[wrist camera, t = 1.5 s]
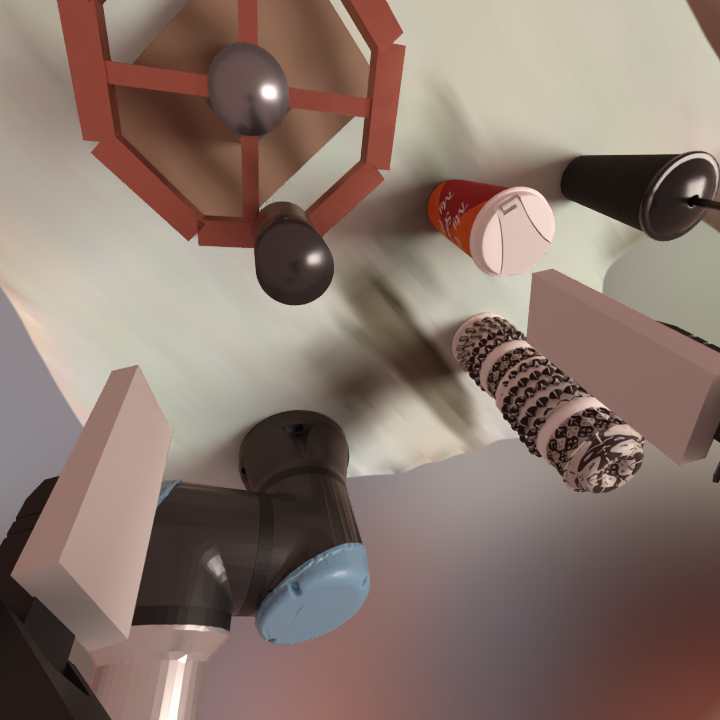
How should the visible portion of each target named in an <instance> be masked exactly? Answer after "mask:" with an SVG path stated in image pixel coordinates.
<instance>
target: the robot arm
mask: <svg viewBox="0 0 720 720" xmlns="http://www.w3.org/2000/svg"><path fill="white" fill-rule="evenodd" d="M526 342H527V343H528V344H529V345H530V346H532V347H533V348H534V349H535V350H536V351H538V352H539V353H540V354H541V355H543V356H544V357H545V358H546V359H548V360H549V361H550V362H551V363H553V364H554V365H555V366H556V367H557V368H559V369H560V370H561V371H562V372H564V373H565V374H566V375H567V376H569V377H570V378H571V379H572V380H574V381H575V382H576V383H577V384H578V385H580V386H581V387H582V388H583V389H585V390H586V391H587V392H588V393H590V394H591V395H592V396H593V397H595V398H596V399H597V400H598V401H599V402H601V403H602V404H603V405H604V406H606V407H607V408H608V409H609V410H611V411H612V412H613V413H614V414H616V415H617V416H618V417H619V418H621V419H622V420H623V421H624V422H625V423H627V424H628V425H629V426H630V427H632V428H633V429H634V430H635V431H637V432H638V433H639V434H640V435H642V436H643V437H644V438H645V439H647V440H648V441H649V442H650V443H651V444H653V445H654V446H655V447H656V448H658V449H659V450H660V451H661V452H663V453H664V454H665V455H666V456H667V457H669V458H670V459H671V460H672V461H674V462H675V463H676V464H678V465H679V466H681V465H684V464H687V463H690V462H693V461H696V460H699V459H703V458H706V456H707V453H708V451H709V448H710V446H711V444H712V442H713V440H714V439H715V440H717V441H718V442H720V348H719V347H717V346H715V345H713V344H708V342H707V341H705V340H703V339H701V338H699V337H694V336H693V334H691V333H689V332H686V331H685V330H683V329H680V328H678V327H677V326H674V325H670V324H667V323H663V322H659V321H655V320H653V319H651V318H649V317H647V316H645V315H643V314H641V313H639V312H637V311H635V310H633V309H631V308H629V307H627V306H625V305H623V304H621V303H619V302H617V301H615V300H614V299H611V298H610V297H608V296H606V295H604V294H602V293H600V292H598V291H596V290H594V289H592V288H590V287H588V286H586V285H584V284H582V283H580V282H578V281H576V280H574V279H572V278H570V277H568V276H566V275H564V274H562V273H560V272H558V271H556V270H554V269H549V270H545V271H540V272H536V273H532V283H531V294H530V306H529V317H528V328H527V339H526ZM171 437H172V431H171V429H170V427H169V425H168V423H167V421H166V419H165V417H164V415H163V413H162V411H161V409H160V407H159V405H158V403H157V401H156V399H155V397H154V395H153V393H152V391H151V389H150V387H149V385H148V383H147V381H146V379H145V377H144V375H143V373H142V371H141V369H140V367H139V365H136V366H131V367H127V368H123V369H118V370H114V371H112V372H111V374H110V376H109V378H108V380H107V382H106V384H105V386H104V388H103V390H102V392H101V394H100V396H99V398H98V400H97V402H96V404H95V406H94V408H93V410H92V412H91V414H90V416H89V418H88V420H87V422H86V425H85V427H84V429H83V431H82V433H81V435H80V437H79V439H78V441H77V443H76V445H75V447H74V449H73V451H72V453H71V455H70V457H69V459H68V461H67V463H66V465H65V467H64V469H63V471H62V473H61V475H60V476H58V477H53V478H50V479H46V480H44V481H43V482H42V483H41V484H40V485H39V486H38V487H37V489H35V490H34V491H33V493H32V494H31V495H30V496H29V497H28V498H27V499H26V500H25V502H24V504H23V506H22V508H21V510H20V511H19V513H18V515H17V517H16V522H13V524H12V526H11V528H10V529H9V531H8V533H7V538H5V539H4V540H3V542H2V544H1V546H0V720H200V719H201V712H202V704H203V696H204V688H205V681H206V673H207V665H208V662H209V660H210V659H211V657H212V656H213V654H214V653H215V652H216V651H217V650H218V649H219V648H220V647H221V646H222V644H223V643H224V642H225V641H226V640H227V639H228V638H229V633H230V623H231V616H253V617H255V625H256V627H257V629H258V632H259V634H260V636H261V637H262V638H263V639H265V640H268V641H269V642H271V643H273V644H280V645H290V644H297V643H301V642H305V641H309V640H312V639H314V638H317V637H320V636H322V635H324V634H327V633H329V632H330V631H332V630H334V629H335V628H337V627H339V626H340V625H342V624H343V623H345V622H346V621H347V620H349V619H350V618H351V617H352V616H353V615H354V614H355V613H356V612H357V611H358V610H359V608H360V607H361V606H362V604H363V603H364V601H365V599H366V597H367V595H368V592H369V588H370V575H369V570H368V564H367V559H366V550H365V548H364V546H363V544H362V541H361V538H360V534H359V530H358V527H357V523H356V520H355V516H354V512H353V509H352V505H351V502H350V498H349V495H348V492H347V488H346V476H347V467H348V463H349V448H348V444H347V441H346V438H345V435H344V433H343V431H342V429H341V428H340V427H339V425H338V424H337V423H336V422H334V421H333V420H332V419H330V418H329V417H327V416H325V415H322V414H319V413H316V412H311V411H289V412H284V413H280V414H277V415H274V416H271V417H269V418H267V419H265V420H264V421H262V422H260V423H259V424H258V425H256V426H255V427H254V428H253V429H252V430H251V431H250V432H249V433H248V434H247V436H246V437H245V439H244V440H243V442H242V445H241V448H240V452H239V471H240V476H241V479H242V481H243V483H244V485H245V487H246V489H247V491H246V490H238V489H230V488H222V487H215V486H208V485H201V484H193V483H186V482H181V480H174V481H162V479H163V474H164V469H165V465H166V460H167V455H168V451H169V446H170V441H171ZM719 480H720V462H719V464H718V467H717V469H716V471H715V473H714V475H713V482H716V483H718V482H719ZM74 639H76V640H77V641H79V642H80V643H81V644H82V645H83V647H84V648H85V650H86V651H87V653H88V654H89V656H90V657H91V659H92V660H93V665H94V673H93V676H92V679H91V683H90V687H89V685H88V684H87V682H86V681H85V680H84V678H83V677H82V675H81V674H80V672H79V671H78V669H77V668H76V666H75V665H74V664H72V663H71V662H70V661H69V660H68V658H69V655H70V651H71V648H72V645H73V642H74Z"/></svg>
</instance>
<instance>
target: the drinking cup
mask: <svg viewBox="0 0 720 720" xmlns="http://www.w3.org/2000/svg"><path fill="white" fill-rule="evenodd" d="M719 183H720V169H719V165H718V162H717V161H716V159H715V158H714V157H713V156H712V155H711V154H709V153H707V152H703V151H690V152H686V153H683V154H663V155H585V156H580V157H578V158H576V159H574V160H573V161H572V162H571V163H570V164H569V165H568V166H567V168H566V169H565V171H564V173H563V176H562V179H561V190H562V193H563V195H564V196H565V197H566V198H567V199H570V200H572V201H574V202H576V203H579V204H581V205H583V206H586V207H588V208H590V209H592V210H595V211H597V212H599V213H602V214H604V215H606V216H608V217H611V218H613V219H615V220H618V221H620V222H622V223H624V224H627V225H629V226H631V227H634V228H636V229H638V230H640V231H643V232H644V233H645V234H646V235H647V236H648V237H649V238H651V239H654V240H657V241H670V240H673V239H676V238H678V237H681V236H683V235H684V234H686V233H687V232H689V231H690V230H691V229H692V228H694V227H695V226H696V225H697V224H698V223H699V222H700V221H701V220H702V218H703V217H704V216H705V215H706V213H707V212H708V210H709V209H712V210H717V211H720V202H719V201H714V199H715V197H716V194H717V191H718V188H719Z"/></svg>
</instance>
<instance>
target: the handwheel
mask: <svg viewBox="0 0 720 720" xmlns="http://www.w3.org/2000/svg"><path fill="white" fill-rule="evenodd" d="M105 1H106V0H57V3H58V8H59V13H60V18H61V24H62V29H63V34H64V40H65V45H66V50H67V56H68V61H69V66H70V71H71V77H72V82H73V87H74V93H75V98H76V103H77V109H78V114H79V119H80V124H81V130H82V135H83V140H89V141H99V142H100V143H99V144H98V145H97V146H96V147H95V148H94V149H93V150H92V152H91V153H92V154H93V155H94V156H95V157H96V158H97V159H98V160H100V161H101V162H102V163H103V164H104V165H105V166H106V167H107V168H108V169H110V170H111V171H112V172H113V173H114V174H115V175H116V176H117V177H118V178H119V179H121V180H122V181H123V182H124V183H125V184H126V185H127V186H128V187H129V188H130V189H132V190H133V191H134V192H135V193H136V194H137V195H138V196H139V197H140V198H141V199H143V200H144V201H145V202H146V203H147V204H148V205H149V206H150V207H151V208H152V209H154V210H155V211H156V212H157V213H158V214H159V215H160V216H161V217H162V218H163V219H165V220H166V221H167V222H168V223H169V224H170V225H171V226H172V227H173V228H174V229H176V230H177V231H178V232H179V233H180V234H181V235H182V236H183V237H184V238H185V239H187V240H188V241H189V240H190V239H191V238H192V237H193V236H195V235H196V234H197V233H198V243H199V246H220V247H242V248H254V254H255V266H256V275H257V279H258V281H259V284H260V285H261V287H262V289H263V290H264V291H265V292H266V293H267V295H269V296H270V297H271V298H273V299H274V300H276V301H278V302H280V303H283V304H287V305H303V304H307V303H310V302H312V301H314V300H316V299H317V298H319V297H320V296H321V295H322V294H323V293H324V292H325V291H326V290H327V288H328V287H329V285H330V283H331V281H332V278H333V273H334V262H333V257H332V254H331V252H330V250H329V248H328V246H327V245H326V243H325V242H324V240H323V238H322V236H323V235H324V234H325V233H326V232H327V231H328V230H330V229H331V228H332V227H333V226H334V225H335V224H336V223H337V222H338V221H339V220H341V219H342V218H343V217H344V216H345V215H346V214H347V213H348V212H349V211H350V210H352V209H353V208H354V207H355V206H356V205H357V204H358V203H359V202H360V201H361V200H363V199H364V198H365V197H366V196H367V195H368V194H369V193H370V192H371V191H373V190H374V189H375V188H376V187H377V186H378V185H379V184H380V183H381V182H382V181H384V178H383V177H382V175H381V174H380V172H379V171H378V170H377V169H382V170H389V169H390V161H391V153H392V146H393V138H394V131H395V123H396V116H397V108H398V100H399V93H400V85H401V78H402V70H403V63H404V55H405V47H406V46H403V45H398V44H392V43H393V42H394V41H395V40H396V39H397V38H398V37H399V36H400V35H401V34H402V33H403V31H402V29H401V27H400V25H399V24H398V22H397V20H396V18H395V16H394V14H393V13H392V11H391V9H390V7H389V5H388V3H387V2H386V0H341V2H342V3H343V5H344V7H345V8H346V10H347V12H348V13H349V15H350V17H351V18H352V20H353V22H354V23H355V25H356V27H357V28H358V30H359V32H360V33H361V35H362V37H363V38H364V40H365V42H366V43H367V45H368V47H369V48H370V50H371V59H370V69H369V79H368V89H367V98H361V97H354V96H347V95H340V94H333V93H327V92H320V91H313V90H306V89H299V88H292V87H288V83H287V79H286V77H285V74H284V72H283V70H282V68H281V66H280V65H279V63H278V62H277V60H276V59H275V58H274V57H273V56H272V55H271V54H270V53H269V52H268V51H266V50H265V49H263V48H261V47H260V46H258V13H257V0H238V37H239V43H234V44H231V45H228V46H226V47H225V48H223V49H222V50H221V51H220V52H218V54H217V55H216V56H215V57H214V59H213V61H212V63H211V65H210V68H209V72H208V75H201V74H194V73H187V72H180V71H173V70H166V69H159V68H152V67H146V66H139V65H132V64H125V63H118V62H111V57H110V50H109V43H108V37H107V30H106V23H105V16H104V10H103V4H104V2H105ZM115 85H120V86H128V87H136V88H143V89H151V90H159V91H166V92H174V93H181V94H189V95H197V96H204V97H209V98H210V101H211V104H212V106H213V108H214V110H215V112H216V114H217V115H218V116H219V118H220V119H221V120H222V121H223V122H224V123H225V124H226V125H227V126H228V127H229V128H231V129H232V130H234V131H236V132H238V133H240V134H241V154H242V193H243V217H229V216H213V215H204V214H203V213H202V212H201V211H200V210H198V209H197V208H196V207H195V206H194V205H193V204H192V203H191V202H190V201H189V200H188V199H187V198H186V197H185V196H184V195H183V194H182V193H181V192H180V191H179V190H178V189H177V188H176V187H175V186H174V185H173V184H172V183H171V182H170V181H169V180H168V179H167V178H166V177H165V176H163V175H162V174H161V173H160V172H159V171H158V170H157V169H156V168H155V167H154V166H153V165H152V164H151V163H150V162H149V161H148V160H147V159H146V158H145V157H144V156H143V155H142V154H141V153H140V152H139V151H138V150H137V149H136V148H135V147H134V146H133V145H132V144H131V143H130V142H128V141H127V140H126V139H125V138H124V137H123V136H122V131H121V124H120V118H119V111H118V104H117V97H116V91H115ZM287 108H296V109H303V110H311V111H319V112H326V113H334V114H342V115H349V116H357V117H364V118H365V119H364V129H363V139H362V149H361V159H360V161H359V162H358V163H357V164H356V165H355V166H353V167H352V168H351V169H350V170H349V171H348V172H347V173H346V174H345V175H344V176H343V177H342V178H341V179H339V180H338V181H337V182H336V183H335V184H334V185H333V186H332V187H331V188H330V189H329V190H328V191H327V192H325V193H324V194H323V195H322V196H321V197H320V198H319V199H318V200H317V201H316V202H315V203H314V204H313V205H311V206H310V207H309V208H308V209H307V210H306V211H304V210H303V209H302V208H300V207H299V206H297V205H295V204H293V203H289V202H275V203H271V204H269V205H267V206H266V207H264V208H263V209H262V210H261V211H260V212H259V145H258V136H261V135H264V134H267V133H269V132H271V131H272V130H274V129H275V128H276V127H277V126H278V125H279V124H280V123H281V121H282V120H283V118H284V116H285V114H286V111H287Z"/></svg>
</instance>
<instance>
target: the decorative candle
mask: <svg viewBox="0 0 720 720" xmlns="http://www.w3.org/2000/svg"><path fill="white" fill-rule="evenodd" d="M526 339H527V337H524V334H523V333H522V332H520V331H518V330H517V328H516V327H515V326H514V325H512V324H510V323H509V321H507V320H505V319H504V318H502V317H501V316H499V315H497V314H495V313H481V314H478V315H475V316H472V317H471V318H469V319H468V320H467V321H466V322H464V323H463V324H462V325H461V326H460V328H459V329H458V330H457V332H456V333H455V335H454V339H453V342H452V351H453V356H454V357H455V359H456V360H457V361H458V363H459V365H461V366H462V365H463V366H466V367H464V371H465V372H467V371H468V372H469V373H470V374H469V376H470V377H471V378H472V379H473V380H475V382H476V384H477V385H478V386H481V390H482V391H486V392H487V393H488V394H489V395H490V397H492V398H494V399H495V400H496V406H497V407H498V409H499V410H500V411H501V413H502V414H503V418H504V419H505V420H507V421H508V422H509V423H510V424H511V428H512V429H513V430H514V431H517V432H518V435H519V436H520V441H521V442H523V443H525V444H526V446H527V447H528V448H529V452H530V453H531V454H534V455H536V456H537V457H543V458H544V459H545V460H546V461H547V462H548V464H549V465H552V466H554V467H555V468H556V470H557V471H558V472H559V473H560V475H561V476H562V477H563V481H564V482H565V484H566V485H567V487H568V488H569V489H571V490H574V491H577V492H585V491H590V492H592V493H605V492H609V491H612V490H614V489H617V488H619V487H620V486H622V485H624V484H625V483H627V482H628V481H629V480H630V479H631V478H632V477H633V476H634V475H635V474H636V473H637V471H638V470H639V468H640V467H641V465H642V461H643V456H644V452H643V444H644V439H645V438H644V437H643V436H642V435H640V434H639V433H638V432H637V431H635V430H634V429H633V428H632V427H630V426H629V425H628V424H627V423H625V422H624V421H623V420H622V419H621V418H619V417H617V415H616V414H614V413H613V412H612V411H611V410H609V409H608V408H607V407H606V406H604V405H603V404H602V403H601V402H599V401H598V400H597V399H596V398H595V397H593V396H592V395H591V394H590V393H588V392H587V391H586V390H585V389H583V388H582V387H581V386H580V385H578V384H577V383H576V382H575V381H574V380H572V379H571V378H570V377H569V376H567V375H566V374H565V373H564V372H562V371H561V370H560V369H559V368H557V367H556V366H555V365H554V364H553V363H551V362H550V361H549V360H548V359H546V358H545V357H544V356H543V355H541V354H540V353H539V352H538V351H536V350H535V349H534V348H533V347H532V346H530V345H529V344H528V343H527V342H526ZM517 425H519V426H517ZM526 435H527V436H526ZM525 436H526V437H527V438H526V437H525ZM534 447H535V448H537V449H535V448H534Z"/></svg>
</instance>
